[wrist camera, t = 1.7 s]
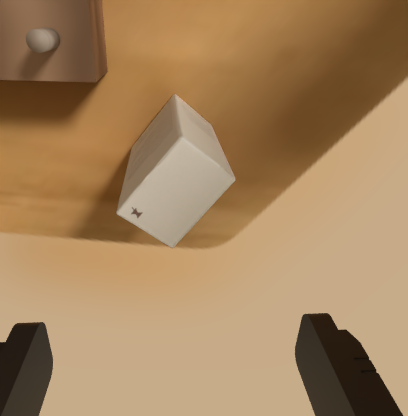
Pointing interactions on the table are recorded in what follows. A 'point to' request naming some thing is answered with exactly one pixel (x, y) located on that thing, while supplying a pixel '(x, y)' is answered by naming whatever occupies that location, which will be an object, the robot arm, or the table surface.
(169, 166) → the skincare box
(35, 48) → the peg shelf stand
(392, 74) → the table surface
